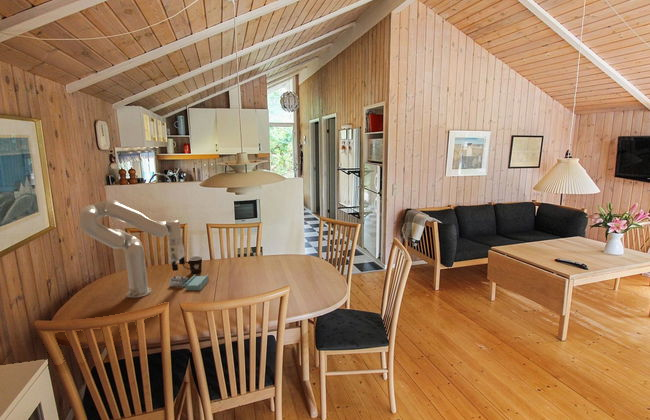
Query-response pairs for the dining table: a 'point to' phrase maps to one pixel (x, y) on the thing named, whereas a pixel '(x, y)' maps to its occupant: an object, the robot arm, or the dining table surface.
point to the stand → (197, 282)
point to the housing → (178, 281)
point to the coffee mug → (195, 264)
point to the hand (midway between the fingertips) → (178, 267)
